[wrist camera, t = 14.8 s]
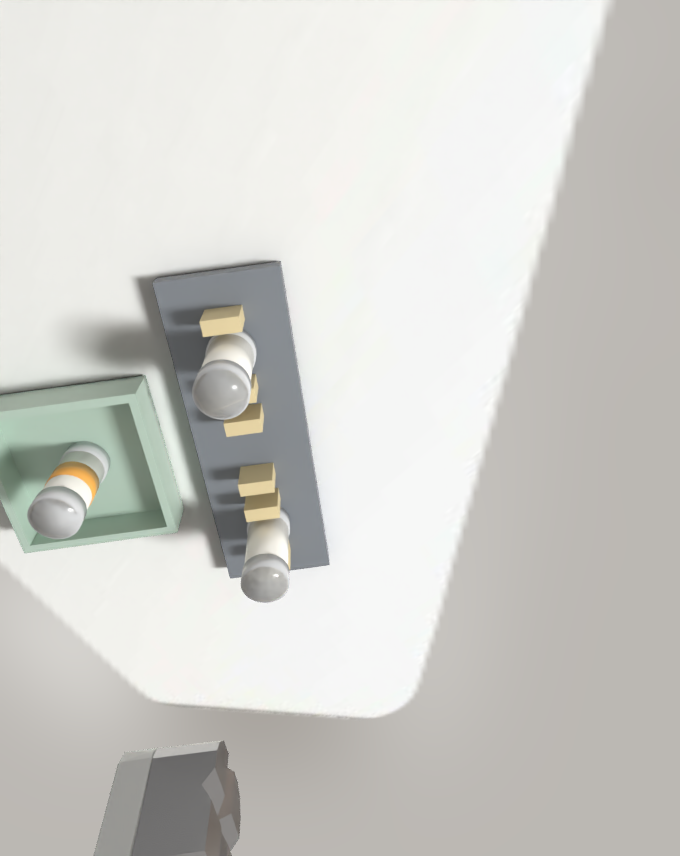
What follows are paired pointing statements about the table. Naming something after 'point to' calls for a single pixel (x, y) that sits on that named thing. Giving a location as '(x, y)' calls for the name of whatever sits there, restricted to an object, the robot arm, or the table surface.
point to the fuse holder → (248, 409)
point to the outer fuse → (267, 559)
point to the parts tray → (101, 424)
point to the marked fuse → (69, 491)
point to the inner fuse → (225, 375)
